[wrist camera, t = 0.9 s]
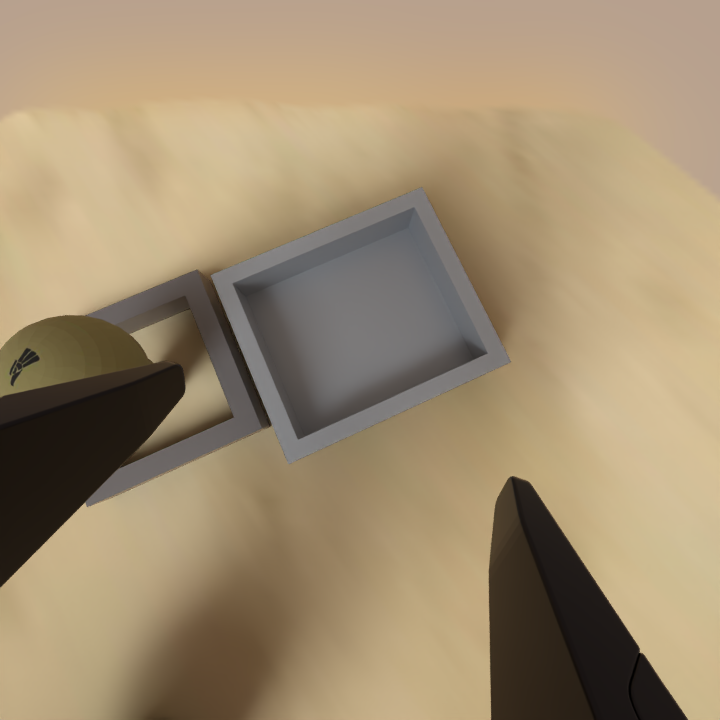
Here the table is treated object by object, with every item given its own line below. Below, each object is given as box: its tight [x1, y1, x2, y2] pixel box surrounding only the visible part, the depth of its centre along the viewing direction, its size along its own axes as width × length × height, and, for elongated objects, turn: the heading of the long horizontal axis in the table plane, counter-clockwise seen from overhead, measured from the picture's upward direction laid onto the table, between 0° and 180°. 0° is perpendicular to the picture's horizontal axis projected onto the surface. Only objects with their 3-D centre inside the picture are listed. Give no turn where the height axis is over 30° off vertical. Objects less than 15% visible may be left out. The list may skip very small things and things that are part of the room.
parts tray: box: [211, 187, 511, 464], centre depth 22 cm, size 14×12×4 cm
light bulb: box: [0, 315, 153, 397], centre depth 19 cm, size 6×6×10 cm
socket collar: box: [86, 270, 270, 507], centre depth 22 cm, size 11×11×2 cm
